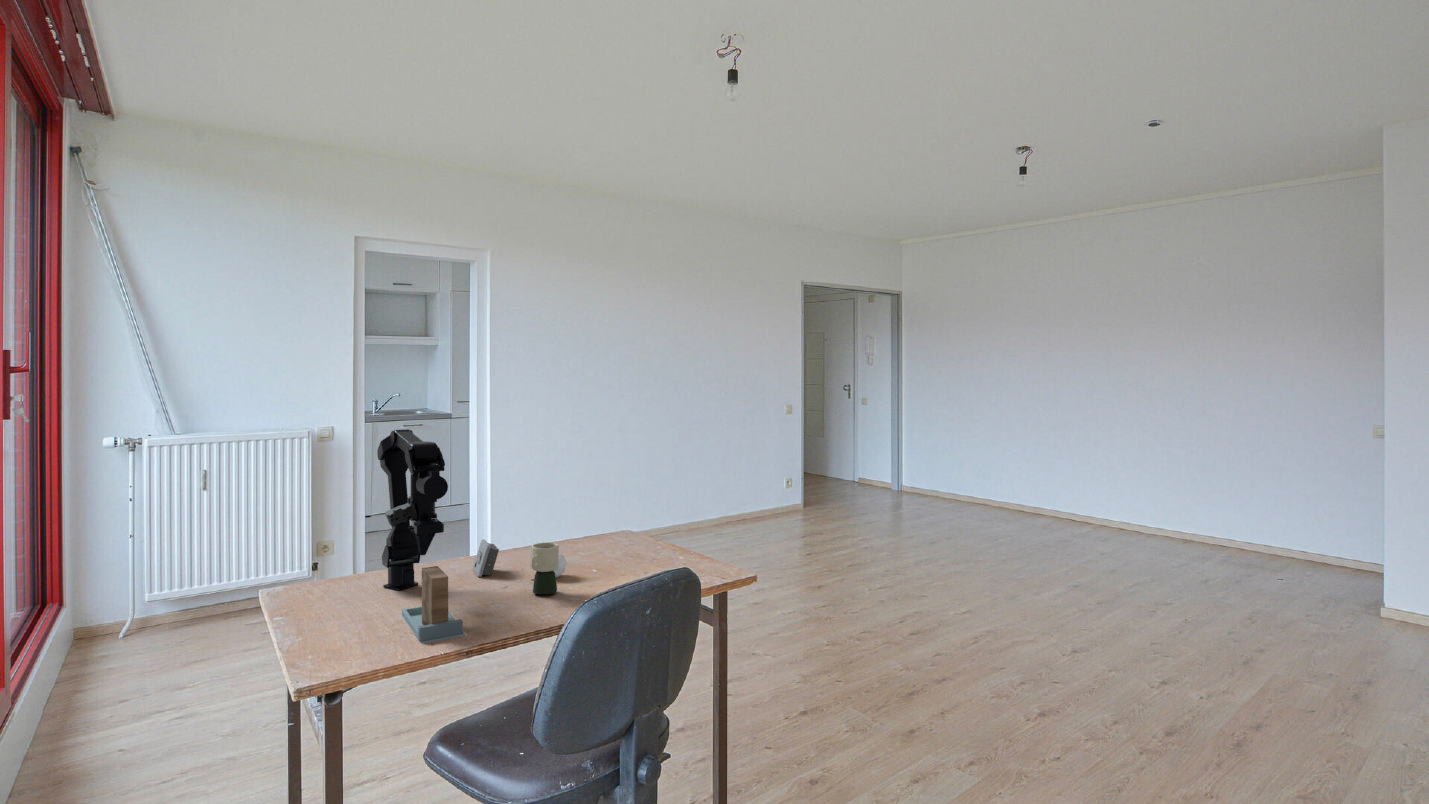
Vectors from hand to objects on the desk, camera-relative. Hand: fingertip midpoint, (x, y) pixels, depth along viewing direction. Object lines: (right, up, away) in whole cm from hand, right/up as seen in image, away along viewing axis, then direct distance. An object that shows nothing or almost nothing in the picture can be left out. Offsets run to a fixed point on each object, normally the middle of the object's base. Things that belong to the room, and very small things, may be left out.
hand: (422, 555), depth 182 cm
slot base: (+8, -14, -15) cm, 22 cm away
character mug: (+28, -13, +11) cm, 33 cm away
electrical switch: (+6, -12, +30) cm, 33 cm away
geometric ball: (+27, -12, +27) cm, 40 cm away
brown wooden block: (+10, -13, -17) cm, 24 cm away
